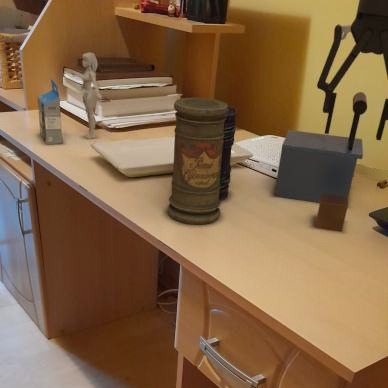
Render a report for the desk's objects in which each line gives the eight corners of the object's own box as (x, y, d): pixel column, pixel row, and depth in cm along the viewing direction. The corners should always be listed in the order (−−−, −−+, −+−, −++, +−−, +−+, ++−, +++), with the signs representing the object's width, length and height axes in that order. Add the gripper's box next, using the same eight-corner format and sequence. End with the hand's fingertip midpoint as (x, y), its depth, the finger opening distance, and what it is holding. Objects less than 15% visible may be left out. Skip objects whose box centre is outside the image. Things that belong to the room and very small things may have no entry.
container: (161, 207, 92) (164, 96, 81) (208, 203, 94) (216, 96, 84) (177, 227, 85) (183, 109, 74) (227, 222, 88) (239, 108, 77)
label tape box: (39, 134, 124) (33, 77, 117) (56, 133, 126) (51, 77, 119) (46, 144, 118) (40, 85, 111) (64, 143, 119) (59, 85, 112)
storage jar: (214, 182, 104) (221, 102, 95) (238, 199, 97) (247, 114, 88) (168, 187, 100) (171, 103, 91) (190, 205, 93) (195, 116, 84)
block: (342, 221, 91) (348, 196, 89) (341, 231, 88) (347, 205, 85) (316, 217, 92) (321, 193, 89) (315, 227, 88) (320, 201, 86)
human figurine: (77, 131, 129) (71, 48, 118) (91, 130, 130) (87, 48, 120) (94, 144, 121) (89, 56, 110) (109, 143, 122) (106, 56, 112)
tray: (254, 169, 113) (256, 152, 111) (119, 185, 99) (118, 166, 97) (214, 147, 124) (216, 132, 122) (89, 159, 111) (88, 142, 109)
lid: (361, 143, 101) (373, 91, 96) (361, 159, 92) (375, 103, 87) (288, 134, 104) (296, 83, 98) (281, 148, 94) (290, 93, 89)
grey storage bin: (346, 187, 107) (357, 142, 101) (345, 206, 97) (357, 159, 92) (281, 178, 109) (288, 134, 104) (274, 196, 100) (281, 149, 95)
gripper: (453, -8, 84) (410, 137, 97) (320, -19, 87) (296, 123, 100) (461, -8, 78) (414, 147, 91) (317, -19, 81) (292, 132, 94)
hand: (352, 135), depth 96 cm, fingers open, 9 cm apart
